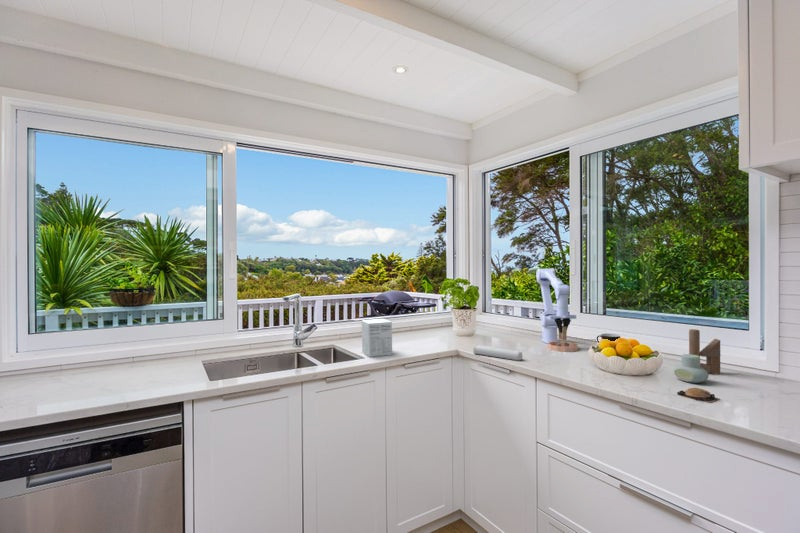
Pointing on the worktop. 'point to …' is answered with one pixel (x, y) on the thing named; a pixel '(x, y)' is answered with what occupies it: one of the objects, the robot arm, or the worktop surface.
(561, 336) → the tan rectangular block
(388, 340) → the supplement box
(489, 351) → the tube
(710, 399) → the brown domed oval piece
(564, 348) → the candle dish
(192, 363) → the worktop surface
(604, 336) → the coffee mug
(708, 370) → the brown wooden sculpture
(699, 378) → the air freshener
